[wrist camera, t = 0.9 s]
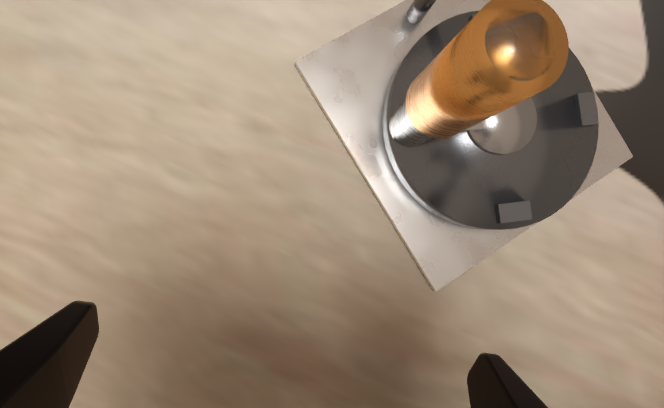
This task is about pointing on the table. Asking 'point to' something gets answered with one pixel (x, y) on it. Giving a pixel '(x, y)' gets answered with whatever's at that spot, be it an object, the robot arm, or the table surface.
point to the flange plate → (368, 142)
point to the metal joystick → (492, 117)
